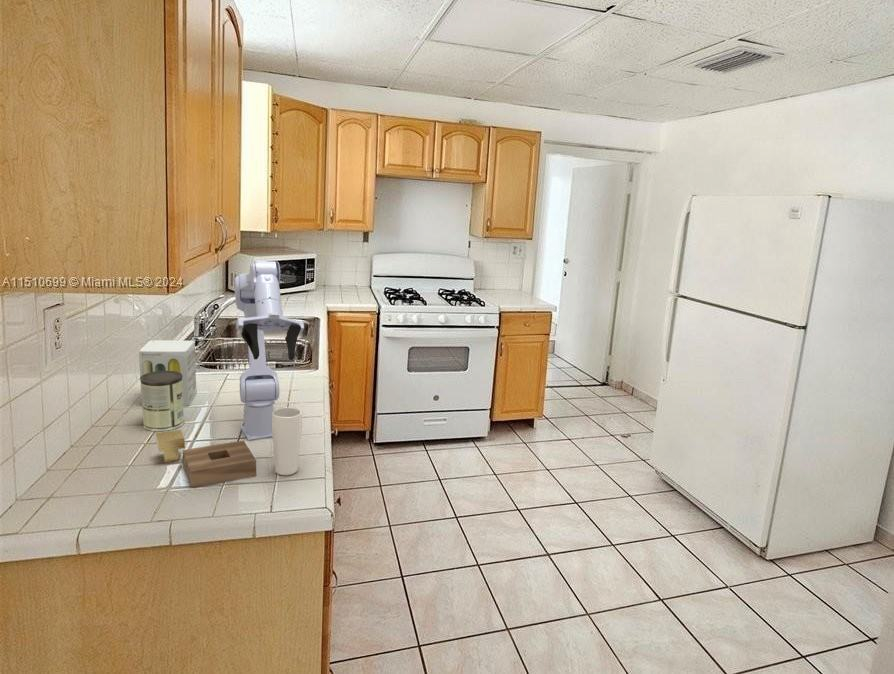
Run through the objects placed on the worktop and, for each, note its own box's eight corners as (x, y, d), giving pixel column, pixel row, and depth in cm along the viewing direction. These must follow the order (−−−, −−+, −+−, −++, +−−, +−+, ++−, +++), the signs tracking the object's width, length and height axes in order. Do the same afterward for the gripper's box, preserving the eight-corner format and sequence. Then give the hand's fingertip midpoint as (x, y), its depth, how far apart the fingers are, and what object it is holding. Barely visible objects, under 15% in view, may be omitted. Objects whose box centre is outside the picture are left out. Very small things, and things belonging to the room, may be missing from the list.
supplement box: (140, 407, 167) (137, 350, 163) (152, 392, 180) (149, 339, 176) (189, 406, 170) (186, 350, 166) (197, 392, 183) (195, 340, 179)
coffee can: (145, 418, 159) (142, 371, 156) (185, 416, 163) (183, 369, 160) (140, 433, 150) (137, 382, 147) (183, 430, 154) (181, 380, 151)
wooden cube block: (156, 456, 138) (155, 433, 137) (181, 452, 141) (180, 429, 140) (159, 465, 134) (158, 442, 132) (185, 461, 137) (184, 438, 135)
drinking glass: (271, 478, 131) (271, 418, 128) (271, 465, 138) (271, 407, 134) (301, 476, 133) (302, 417, 130) (300, 463, 139) (301, 406, 136)
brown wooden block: (183, 465, 134) (182, 450, 133) (243, 455, 142) (243, 440, 141) (191, 488, 125) (190, 471, 124) (256, 475, 132) (256, 459, 131)
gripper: (239, 293, 123) (244, 347, 117) (304, 298, 131) (312, 349, 125) (233, 310, 128) (237, 363, 122) (296, 314, 136) (303, 364, 130)
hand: (274, 357), depth 124 cm, fingers open, 7 cm apart
